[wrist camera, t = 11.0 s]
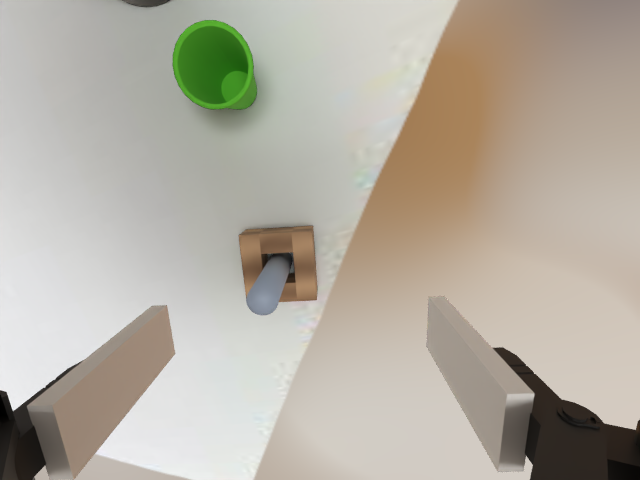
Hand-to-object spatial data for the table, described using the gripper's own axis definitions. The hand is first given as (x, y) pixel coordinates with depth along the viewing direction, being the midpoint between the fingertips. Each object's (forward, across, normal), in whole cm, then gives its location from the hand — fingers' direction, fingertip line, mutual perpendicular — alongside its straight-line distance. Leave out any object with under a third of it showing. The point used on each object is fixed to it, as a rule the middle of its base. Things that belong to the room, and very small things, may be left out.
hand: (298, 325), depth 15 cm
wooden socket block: (+34, -6, -7) cm, 35 cm away
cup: (+34, -10, +19) cm, 41 cm away
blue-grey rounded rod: (+34, -6, -7) cm, 35 cm away
